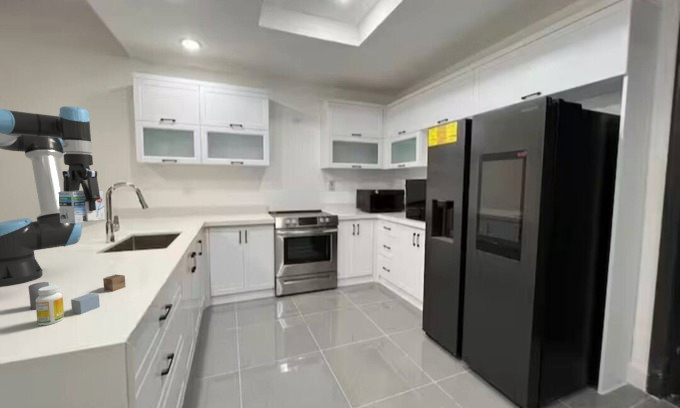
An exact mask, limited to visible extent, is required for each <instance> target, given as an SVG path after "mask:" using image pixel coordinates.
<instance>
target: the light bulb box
mask: <svg viewBox="0 0 680 408" xmlns="http://www.w3.org/2000/svg"><path fill="white" fill-rule="evenodd" d="M99 193H100V199H98V200H96V201H95V203H96V220H89V221H86V210H85V200H86V197H85V194H84V191H83V189H82V190H79V191H62V192H58V200H59V212H60V223H81V224H82V223H87V222H95V221H102V220H106V216H105V215H106V214H105V203H104V202H105V200H104V191H103V190H99Z"/></svg>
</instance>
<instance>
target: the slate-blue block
mask: <svg viewBox="0 0 680 408" xmlns="http://www.w3.org/2000/svg"><path fill="white" fill-rule="evenodd" d="M70 304H71V305H70V306H71V313H74V314H78V315H83V314H86V313H89V312H91V311H93V310H95V309H98V308H100V306H101V305H100V295H99V294H96V293H90V292H89V293H86V294H83V295H81V296H78V297H75V298H72V299H70Z"/></svg>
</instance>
